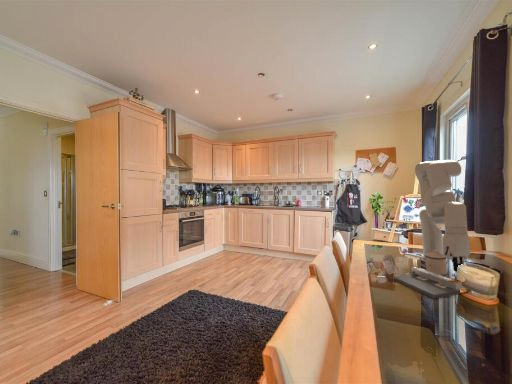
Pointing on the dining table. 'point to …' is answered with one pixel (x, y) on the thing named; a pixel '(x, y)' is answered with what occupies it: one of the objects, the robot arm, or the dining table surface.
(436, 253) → the teacup with lid
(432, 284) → the tray
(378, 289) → the dining table surface
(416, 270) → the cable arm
